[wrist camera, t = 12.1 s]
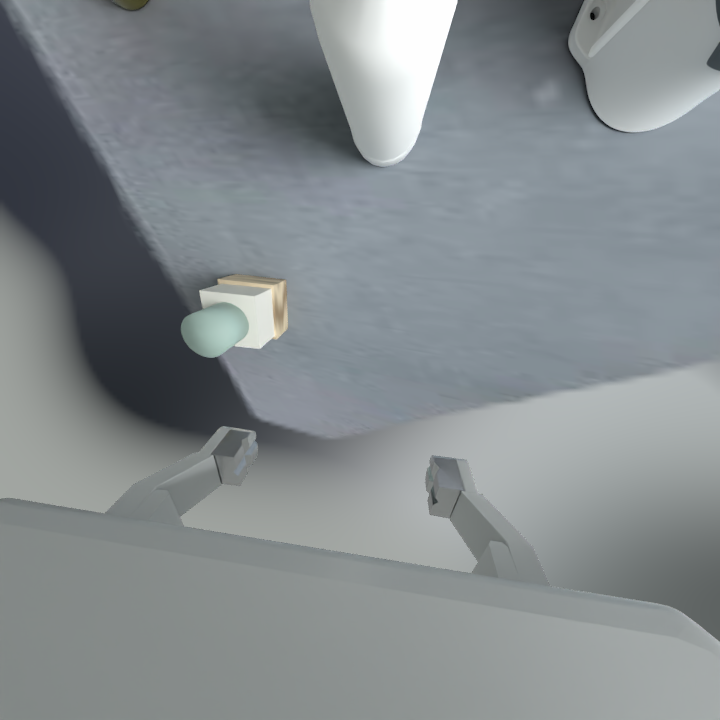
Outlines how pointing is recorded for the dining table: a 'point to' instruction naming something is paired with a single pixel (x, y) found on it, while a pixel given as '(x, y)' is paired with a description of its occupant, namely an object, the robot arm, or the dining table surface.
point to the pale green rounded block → (214, 329)
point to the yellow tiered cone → (130, 3)
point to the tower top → (246, 309)
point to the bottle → (383, 67)
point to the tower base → (277, 296)
